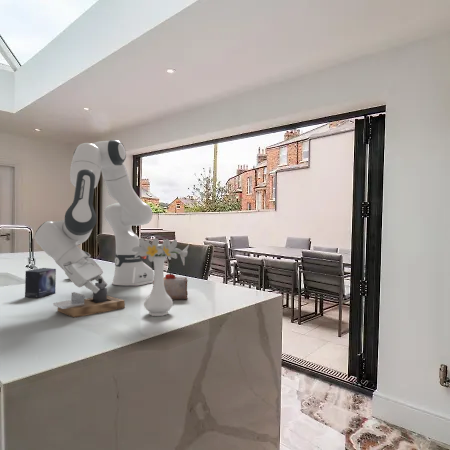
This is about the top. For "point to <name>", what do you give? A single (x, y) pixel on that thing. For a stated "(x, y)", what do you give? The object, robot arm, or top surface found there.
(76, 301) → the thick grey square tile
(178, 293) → the food item
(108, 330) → the top surface
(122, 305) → the socket
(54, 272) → the small box
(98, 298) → the bottle
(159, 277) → the flower vase
